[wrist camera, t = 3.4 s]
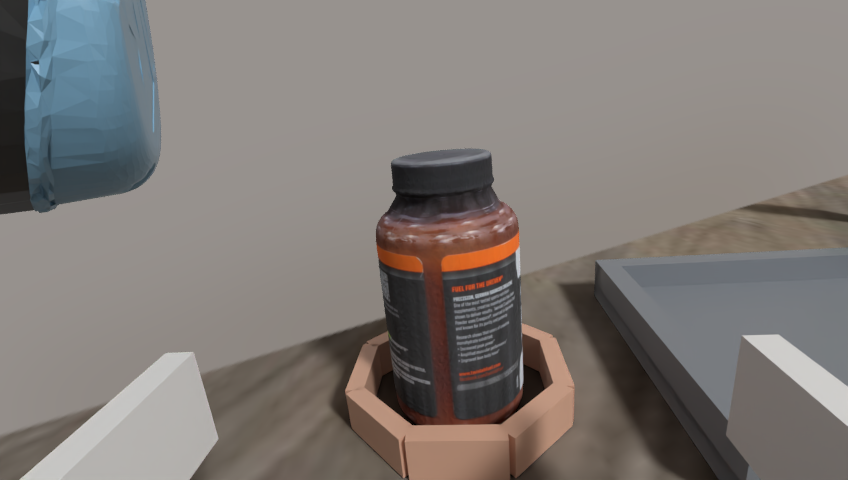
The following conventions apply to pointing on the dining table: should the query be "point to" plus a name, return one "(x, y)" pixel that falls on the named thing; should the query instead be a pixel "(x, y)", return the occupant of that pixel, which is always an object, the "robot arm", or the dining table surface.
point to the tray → (724, 326)
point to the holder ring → (463, 444)
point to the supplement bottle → (452, 290)
